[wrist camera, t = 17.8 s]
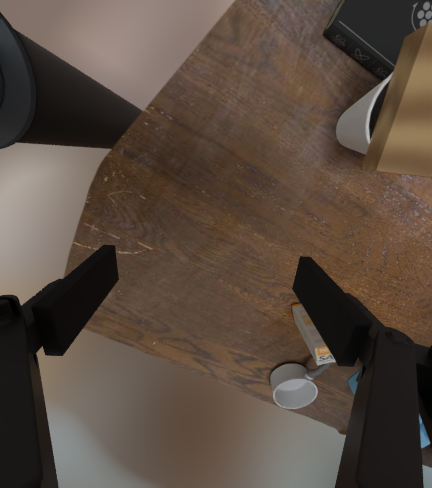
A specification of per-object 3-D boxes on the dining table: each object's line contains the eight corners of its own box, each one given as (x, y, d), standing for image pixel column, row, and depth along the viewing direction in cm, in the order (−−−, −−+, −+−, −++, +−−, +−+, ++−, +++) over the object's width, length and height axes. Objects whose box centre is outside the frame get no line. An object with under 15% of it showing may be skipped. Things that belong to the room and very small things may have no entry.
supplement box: (293, 319, 54) (316, 366, 42) (290, 304, 53) (314, 348, 41) (326, 312, 54) (360, 358, 42) (325, 297, 52) (359, 340, 40)
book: (321, 36, 34) (330, 25, 31) (390, -90, 29) (409, -116, 26) (420, 112, 38) (437, 108, 35) (497, 12, 33) (523, -1, 30)
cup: (377, 164, 41) (440, 168, 30) (314, 160, 41) (354, 163, 29) (400, 89, 37) (485, 59, 25) (330, 84, 36) (384, 51, 25)
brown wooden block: (404, 37, 24) (429, 21, 22) (480, 48, 25) (514, 34, 22) (360, 169, 30) (375, 171, 27) (424, 176, 30) (445, 178, 27)
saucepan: (339, 350, 58) (351, 369, 53) (291, 393, 65) (297, 414, 59) (306, 332, 56) (315, 350, 51) (259, 379, 62) (263, 399, 57)
